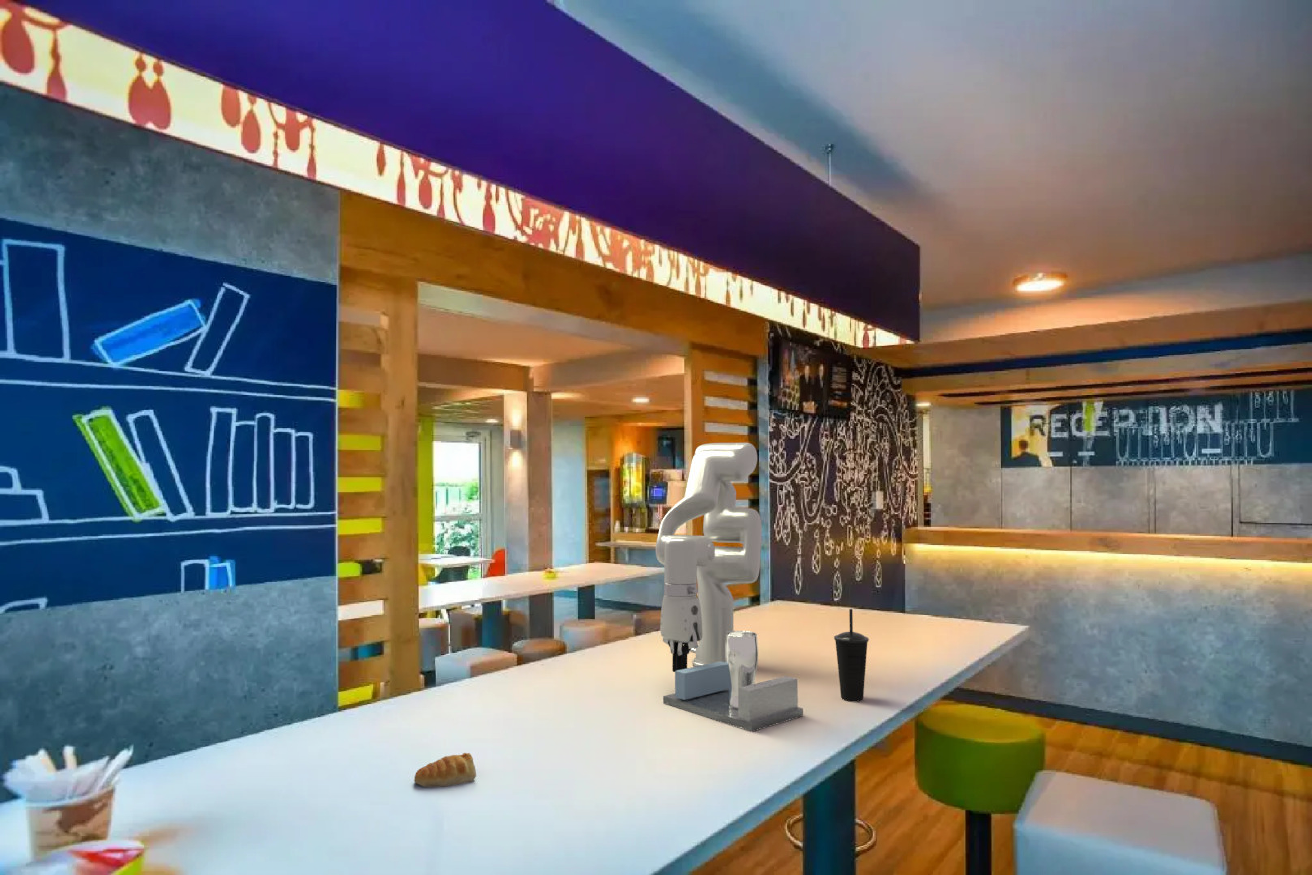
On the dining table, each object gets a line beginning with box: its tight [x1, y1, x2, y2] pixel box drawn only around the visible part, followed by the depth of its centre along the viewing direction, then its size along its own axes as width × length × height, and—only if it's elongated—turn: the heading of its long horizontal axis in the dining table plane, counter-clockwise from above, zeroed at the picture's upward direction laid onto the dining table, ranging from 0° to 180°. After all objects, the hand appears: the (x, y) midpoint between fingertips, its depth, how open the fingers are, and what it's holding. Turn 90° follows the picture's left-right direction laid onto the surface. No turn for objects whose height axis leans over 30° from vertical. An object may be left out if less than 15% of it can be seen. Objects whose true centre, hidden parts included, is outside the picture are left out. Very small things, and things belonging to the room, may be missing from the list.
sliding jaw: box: [674, 661, 729, 700], centre depth 170 cm, size 3×14×6 cm, turn 131°
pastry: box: [413, 752, 477, 788], centre depth 123 cm, size 9×7×4 cm
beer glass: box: [725, 630, 759, 709], centre depth 161 cm, size 7×7×15 cm
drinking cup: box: [833, 608, 870, 702], centre depth 173 cm, size 8×8×20 cm
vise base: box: [662, 675, 804, 732], centre depth 164 cm, size 26×16×8 cm, turn 41°
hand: (679, 671), depth 175 cm, fingers closed
